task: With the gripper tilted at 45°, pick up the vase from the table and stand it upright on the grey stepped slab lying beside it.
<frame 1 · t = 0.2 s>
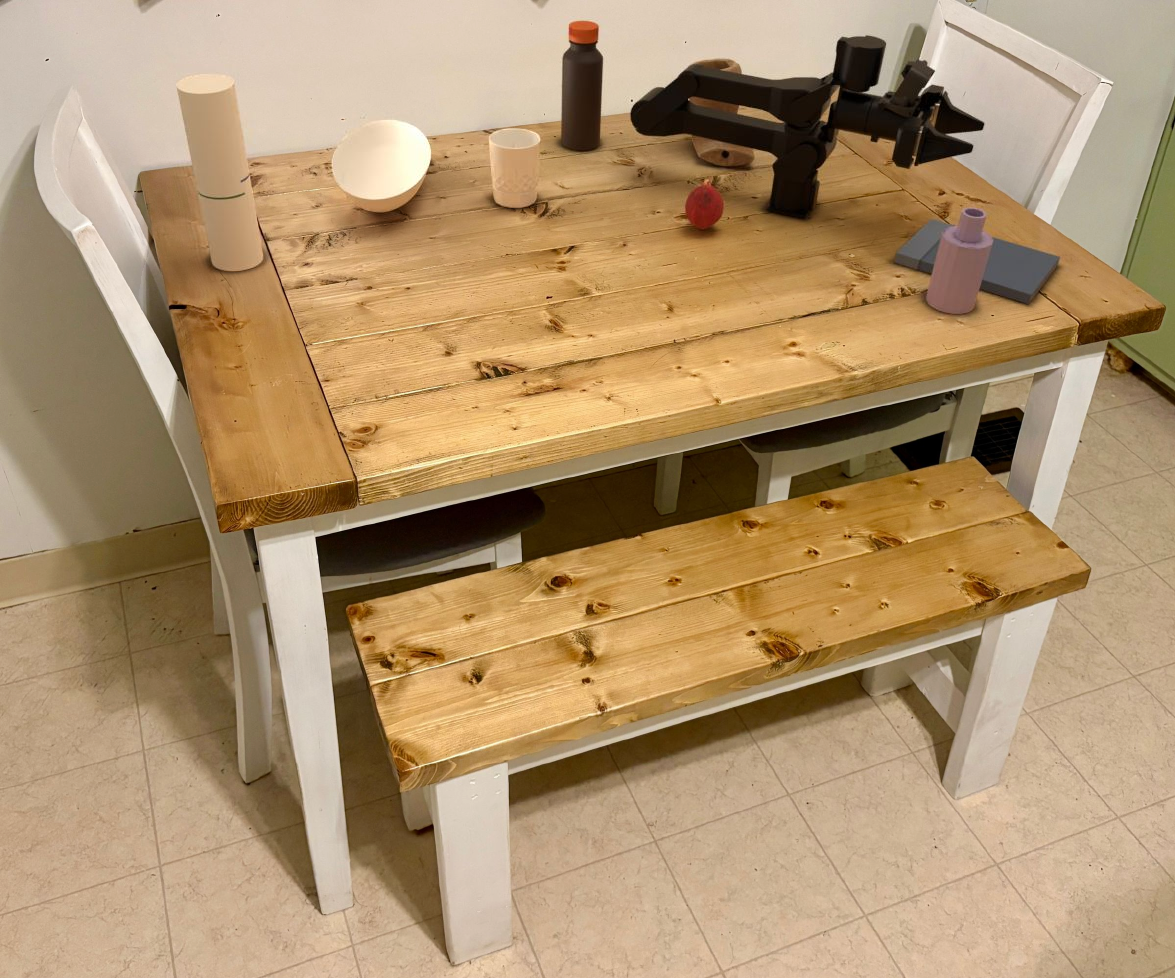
hand: (978, 137, 161), 17 cm above the table, tool horizontal, fingers open, 9 cm apart
vase: (950, 301, 157), on the table
cylindrical container: (237, 260, 160), on the table
bowl: (385, 194, 178), on the table
grey stepped slab: (975, 264, 166), on the table
white cup: (515, 200, 178), on the table
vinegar: (580, 144, 196), on the table
onion: (701, 230, 172), on the table
clay boot vessel: (714, 152, 195), on the table
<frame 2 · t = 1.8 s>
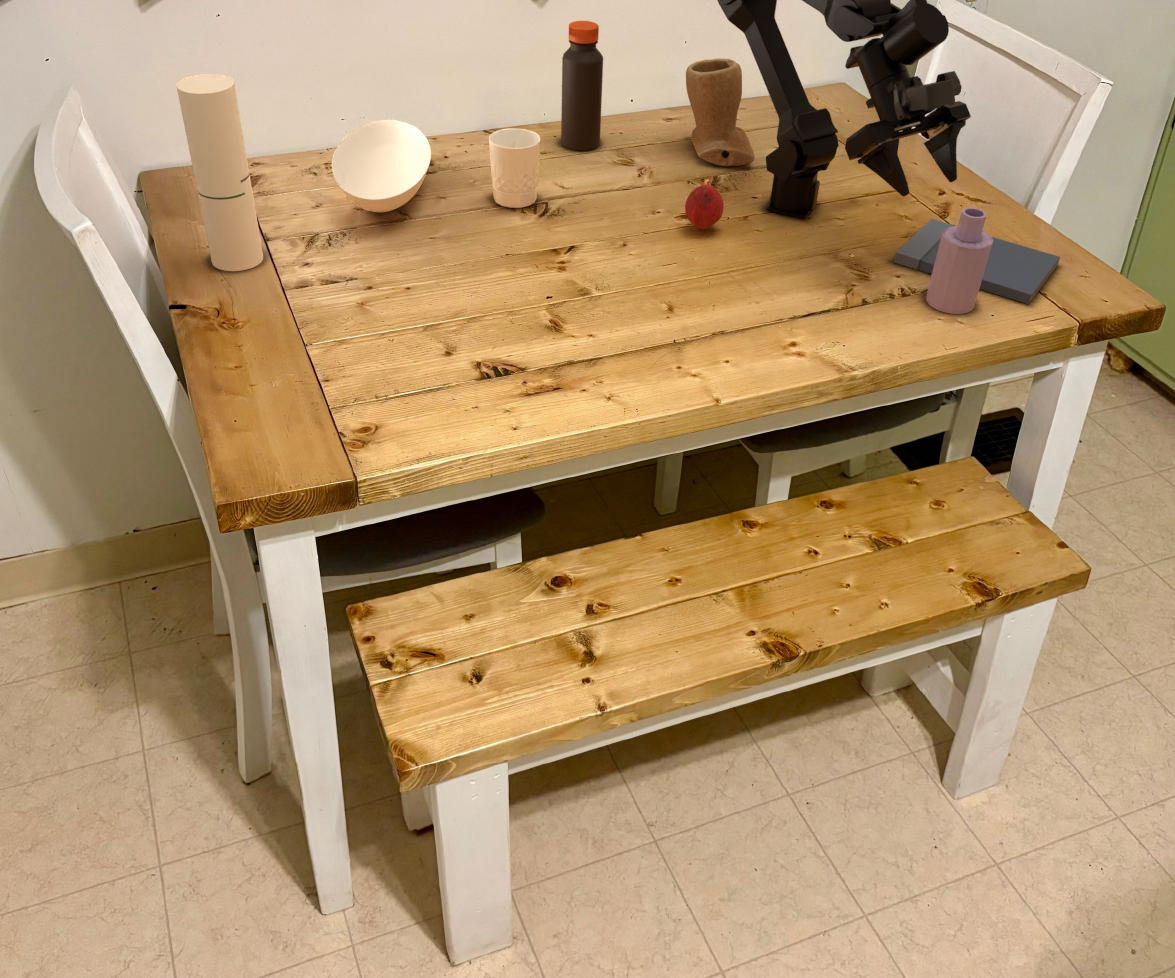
hand: (930, 187, 154), 14 cm above the table, tool tilted 45°, fingers open, 9 cm apart
nothing on the table moved.
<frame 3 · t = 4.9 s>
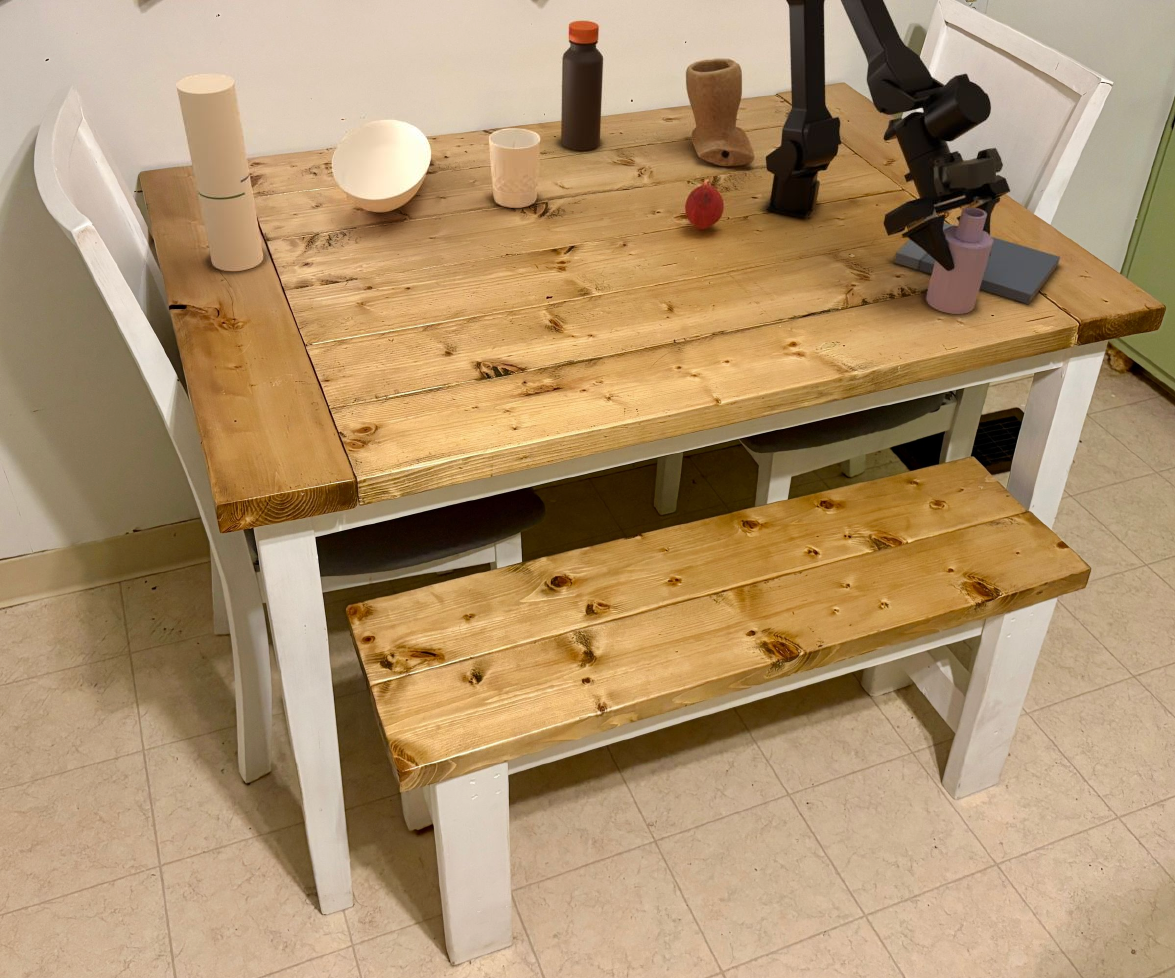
hand: (969, 263, 152), 7 cm above the table, tool tilted 45°, fingers closed on vase, 7 cm apart
vase: (950, 301, 157), on the table, touching gripper
everything else where it was.
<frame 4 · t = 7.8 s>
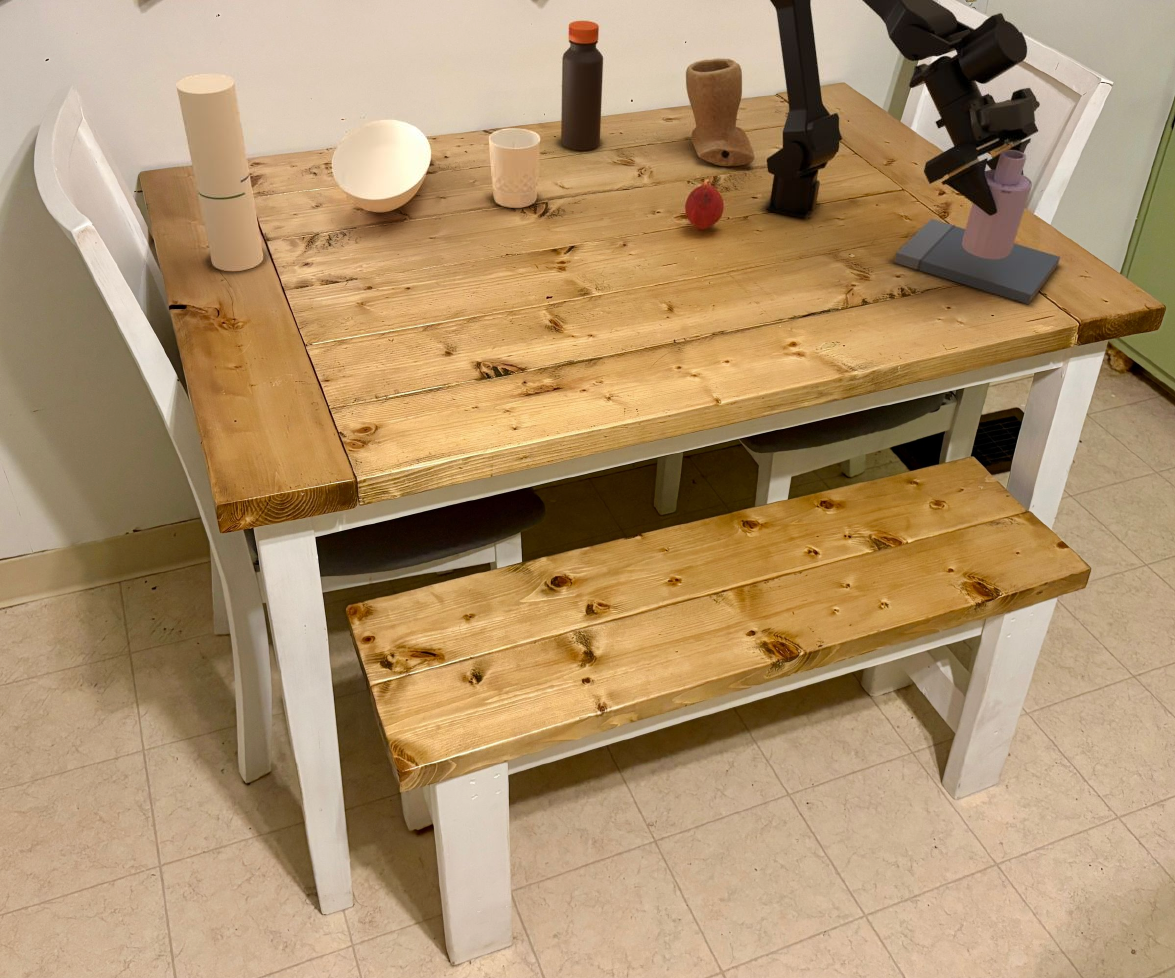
hand: (1008, 207, 151), 13 cm above the table, tool tilted 45°, fingers closed on vase, 7 cm apart
vase: (986, 247, 156), point 7 cm above the table, touching gripper
everything else where it was.
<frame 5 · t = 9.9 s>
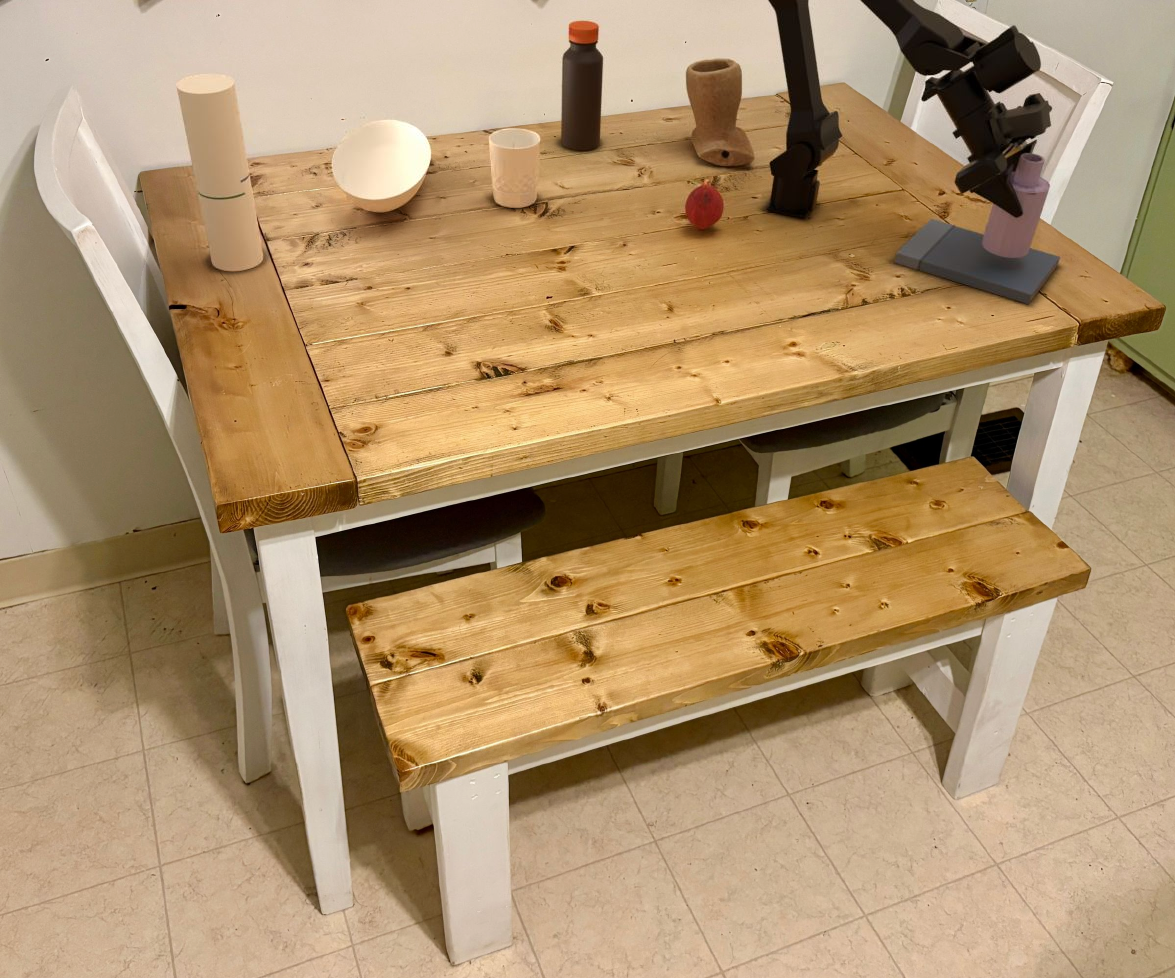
hand: (1027, 207, 158), 10 cm above the table, tool tilted 45°, fingers closed on vase, 7 cm apart
vase: (1005, 246, 163), point 4 cm above the table, touching gripper
everything else where it was.
when the fingers open (8 cm above the table, at t = 11.1 s): vase stays where it is, resting on grey stepped slab.
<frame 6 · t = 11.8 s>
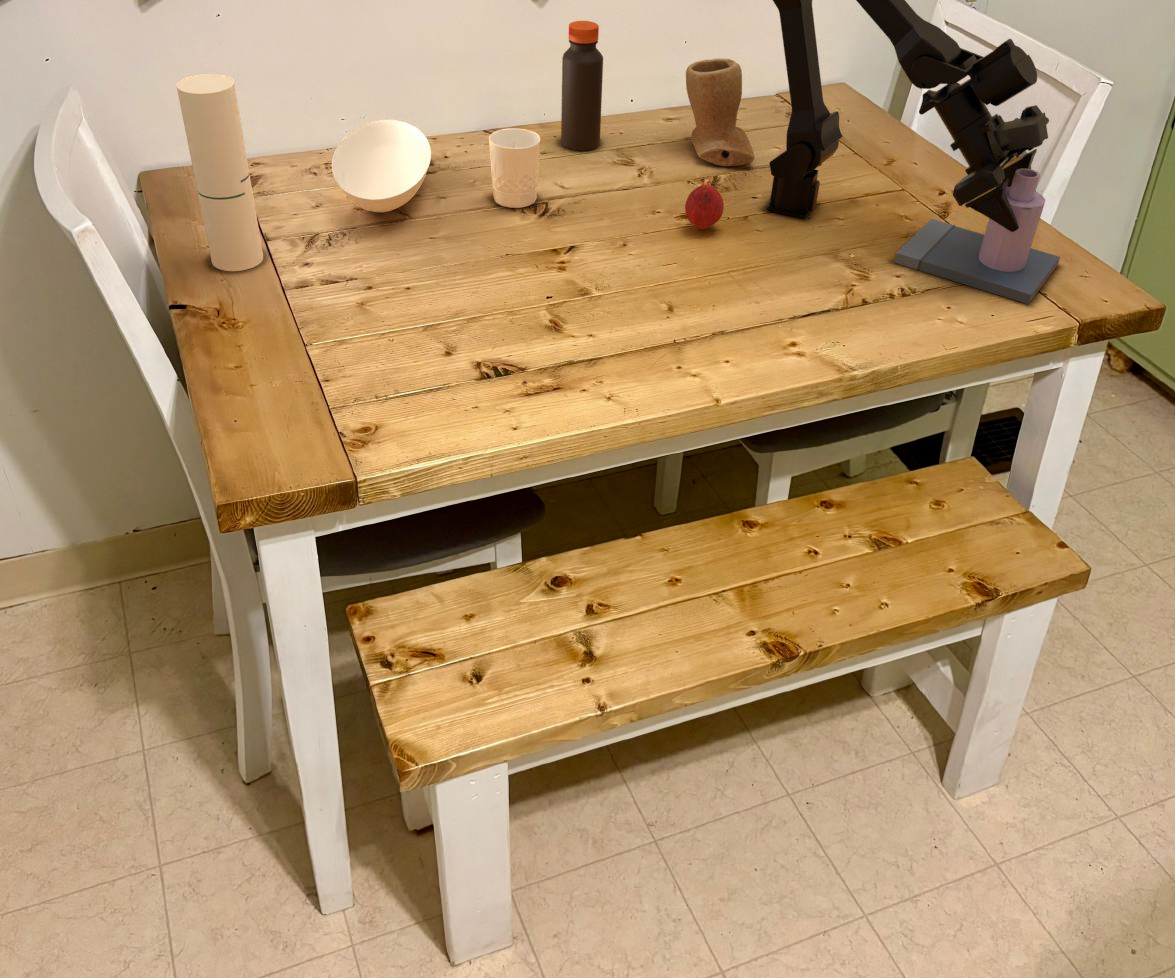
hand: (1025, 218, 159), 9 cm above the table, tool tilted 45°, fingers open, 9 cm apart
vase: (1001, 260, 164), point 2 cm above the table, touching grey stepped slab
everything else where it was.
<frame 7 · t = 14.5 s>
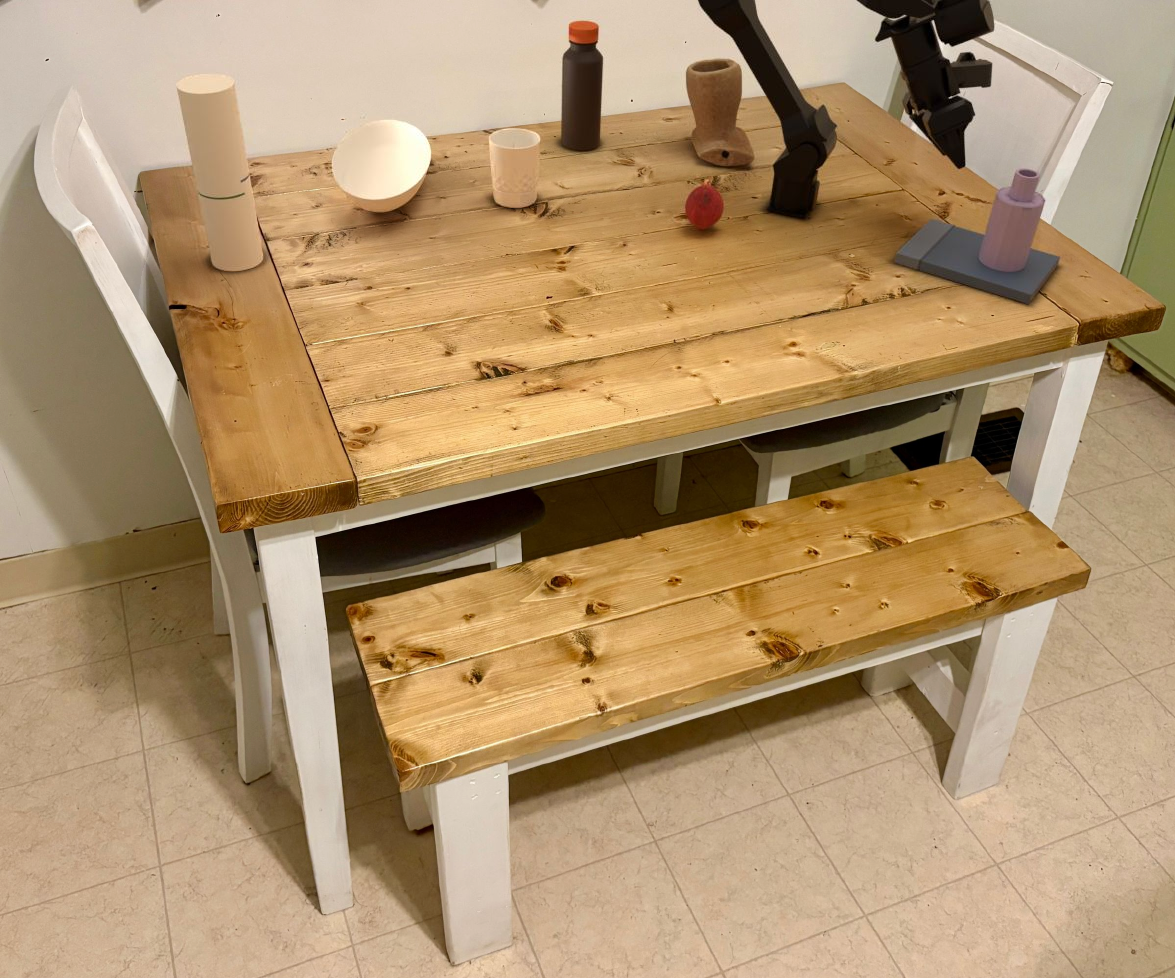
hand: (954, 160, 165), 12 cm above the table, tool tilted 30°, fingers open, 9 cm apart
nothing on the table moved.
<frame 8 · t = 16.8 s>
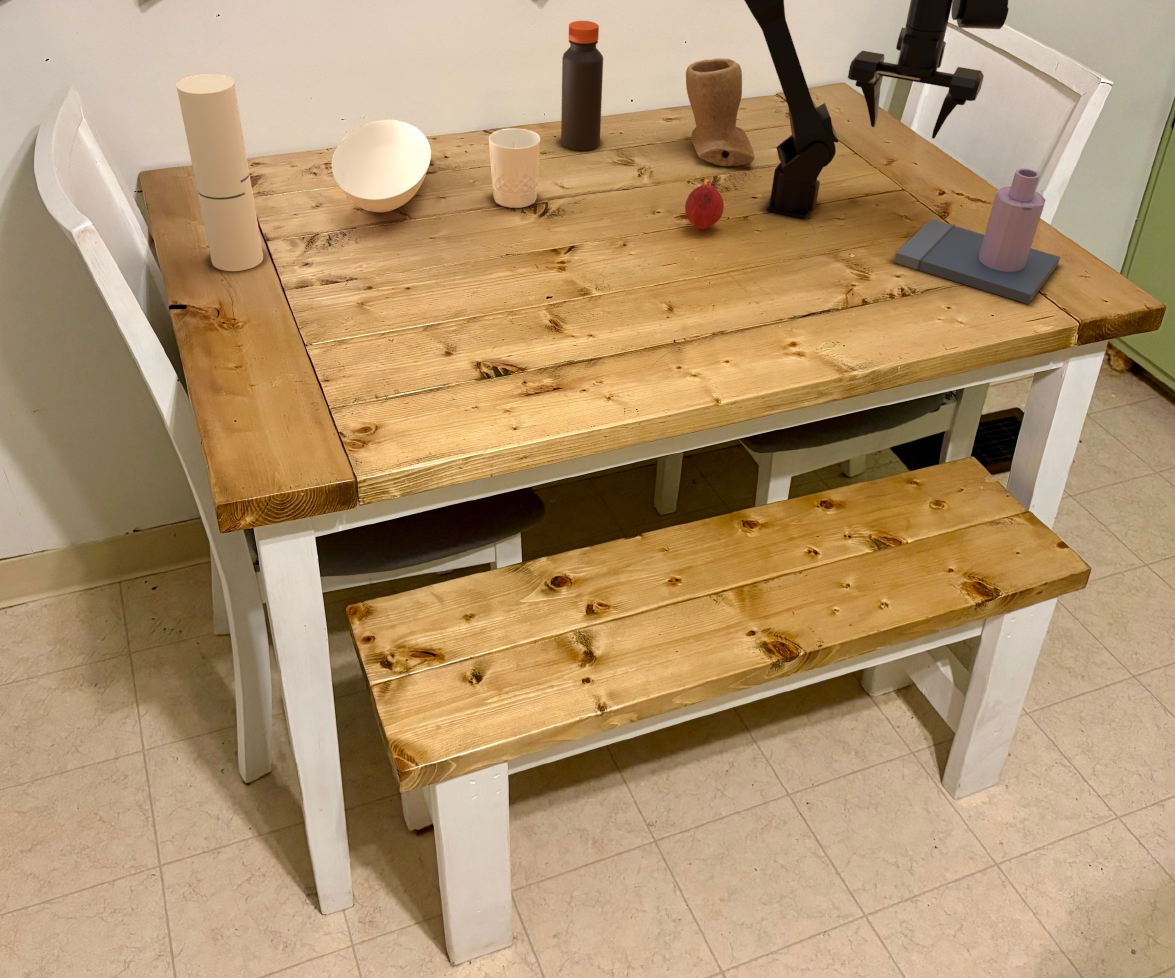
hand: (903, 131, 171), 13 cm above the table, tool pointing down, fingers open, 9 cm apart
nothing on the table moved.
at the end: vase inside the target area on the grey stepped slab (3.4 cm from its centre), point 1.6 cm above the grey stepped slab's base; vase tilted 0°; the gripper is holding nothing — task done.
